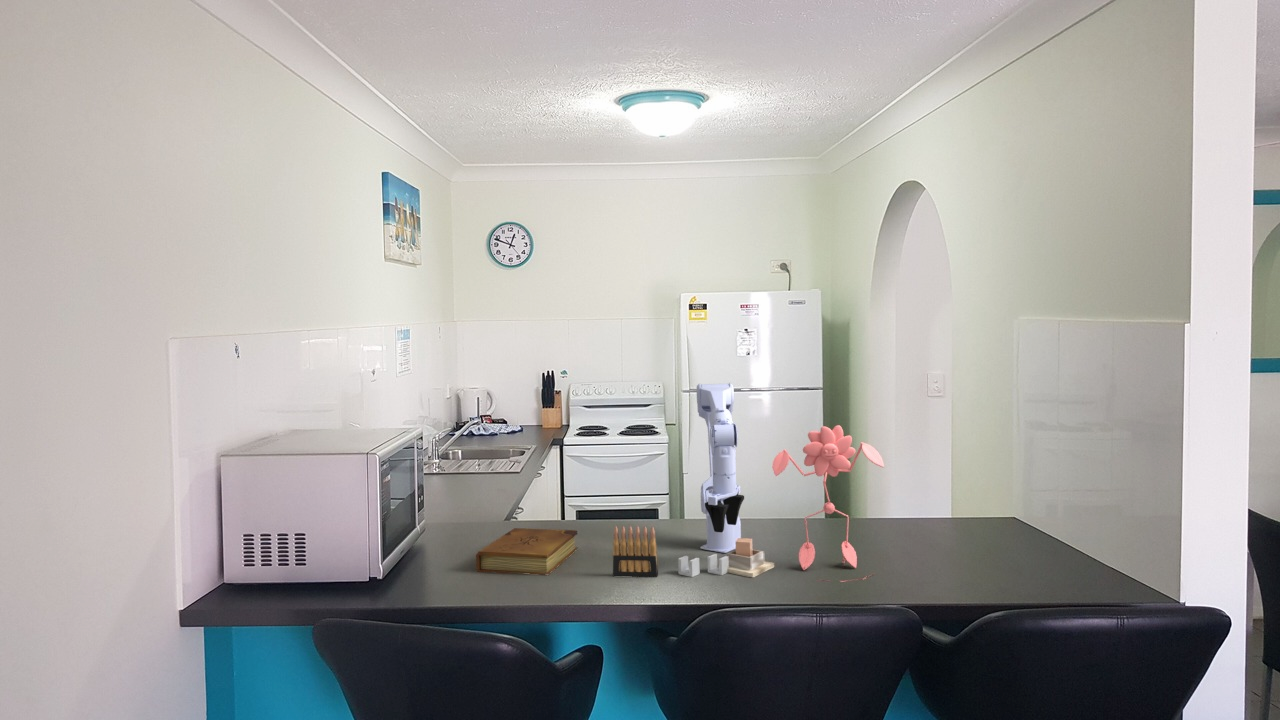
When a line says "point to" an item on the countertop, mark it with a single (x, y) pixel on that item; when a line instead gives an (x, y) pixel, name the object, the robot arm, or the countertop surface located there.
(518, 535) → the diary
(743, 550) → the orange rectangular block
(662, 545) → the countertop surface
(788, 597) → the countertop surface
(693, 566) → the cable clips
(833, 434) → the figurine
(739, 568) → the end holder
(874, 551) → the countertop surface
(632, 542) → the ammunition clip
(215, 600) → the countertop surface
